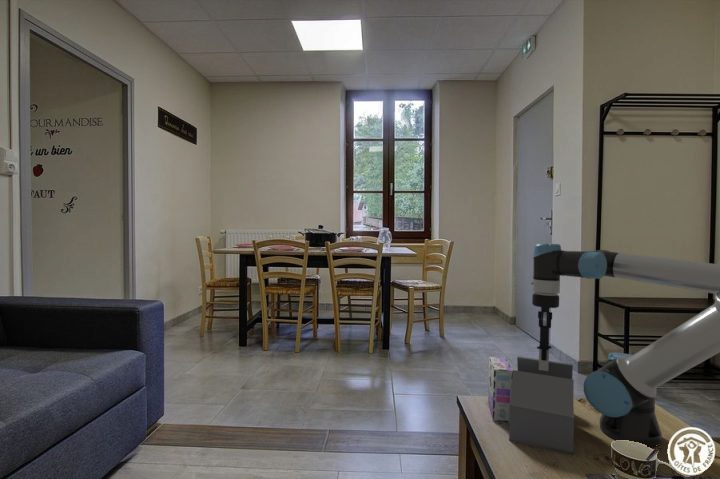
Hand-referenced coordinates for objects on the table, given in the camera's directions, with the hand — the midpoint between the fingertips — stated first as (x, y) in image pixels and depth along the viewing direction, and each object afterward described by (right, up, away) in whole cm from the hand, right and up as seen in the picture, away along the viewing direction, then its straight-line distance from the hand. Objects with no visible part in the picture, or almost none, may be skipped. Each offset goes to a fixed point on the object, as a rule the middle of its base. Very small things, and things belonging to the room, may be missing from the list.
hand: (543, 369), depth 123 cm
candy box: (-11, -17, +7) cm, 21 cm away
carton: (-3, -17, -5) cm, 18 cm away
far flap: (+1, -2, +2) cm, 3 cm away
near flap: (-6, -3, -12) cm, 14 cm away
